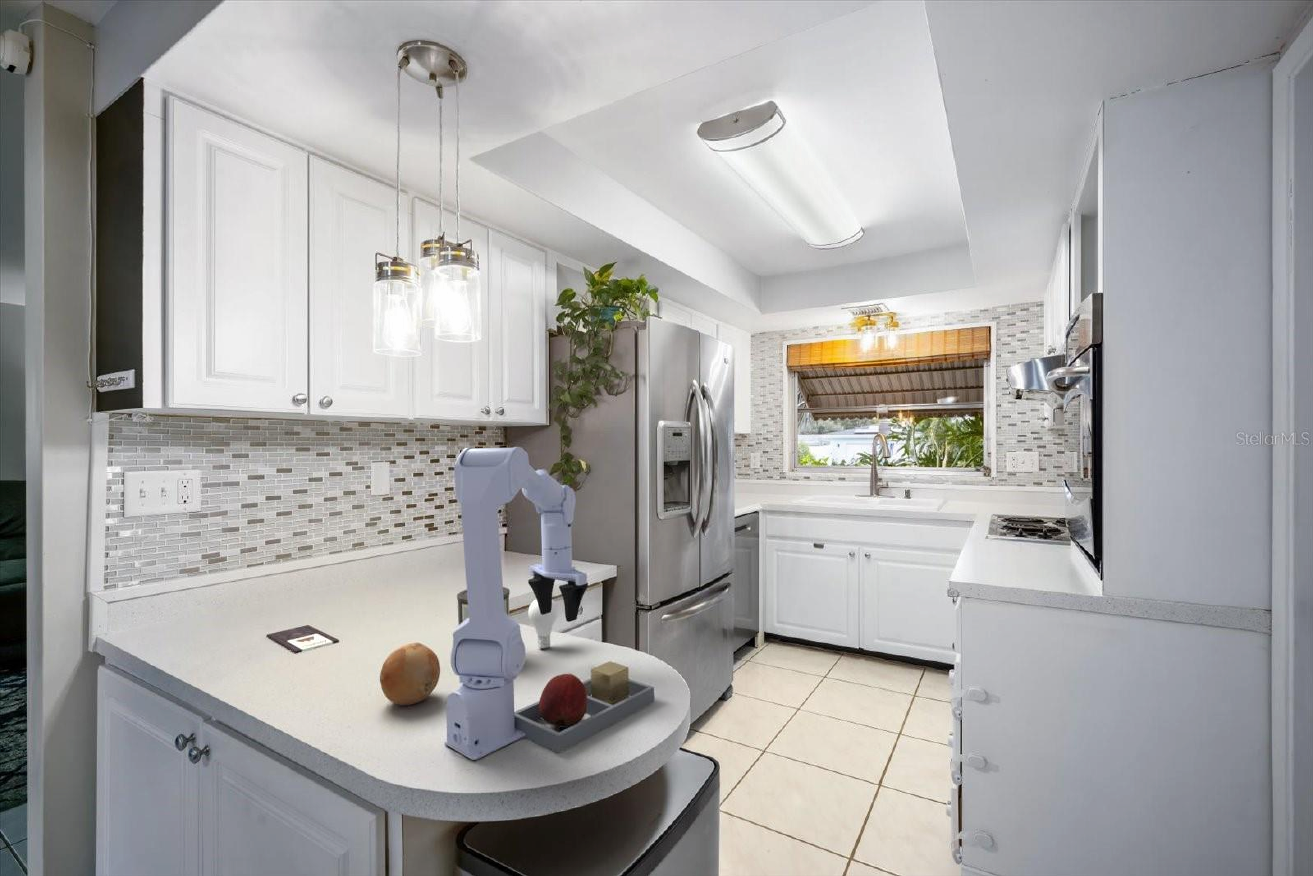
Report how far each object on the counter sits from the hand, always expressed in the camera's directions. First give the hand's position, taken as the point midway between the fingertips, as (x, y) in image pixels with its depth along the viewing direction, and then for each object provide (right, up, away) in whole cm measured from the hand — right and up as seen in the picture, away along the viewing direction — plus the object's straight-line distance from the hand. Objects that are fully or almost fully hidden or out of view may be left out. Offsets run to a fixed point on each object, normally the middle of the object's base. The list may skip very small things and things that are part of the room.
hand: (558, 616), depth 118 cm
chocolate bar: (-63, -12, +22) cm, 68 cm away
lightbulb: (-5, -11, +12) cm, 17 cm away
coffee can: (-16, -11, +6) cm, 20 cm away
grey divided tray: (+8, -10, -19) cm, 23 cm away
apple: (+5, -11, -23) cm, 25 cm away
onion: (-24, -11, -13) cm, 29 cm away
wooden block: (+11, -10, -15) cm, 21 cm away
